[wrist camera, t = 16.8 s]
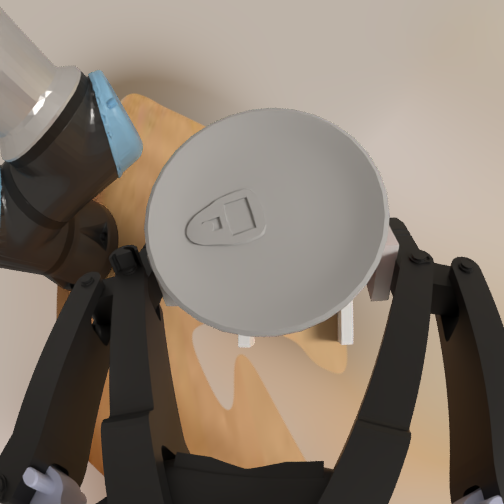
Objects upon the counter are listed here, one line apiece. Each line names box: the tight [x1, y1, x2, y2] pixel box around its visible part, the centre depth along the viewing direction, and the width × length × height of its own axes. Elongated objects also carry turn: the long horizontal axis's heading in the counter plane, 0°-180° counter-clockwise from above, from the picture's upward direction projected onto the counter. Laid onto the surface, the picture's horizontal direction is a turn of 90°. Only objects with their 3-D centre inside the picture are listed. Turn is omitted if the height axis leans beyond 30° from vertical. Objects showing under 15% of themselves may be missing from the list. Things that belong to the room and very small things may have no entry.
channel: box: [238, 300, 353, 347], centre depth 36 cm, size 9×13×4 cm
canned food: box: [144, 108, 390, 337], centre depth 14 cm, size 8×8×11 cm
